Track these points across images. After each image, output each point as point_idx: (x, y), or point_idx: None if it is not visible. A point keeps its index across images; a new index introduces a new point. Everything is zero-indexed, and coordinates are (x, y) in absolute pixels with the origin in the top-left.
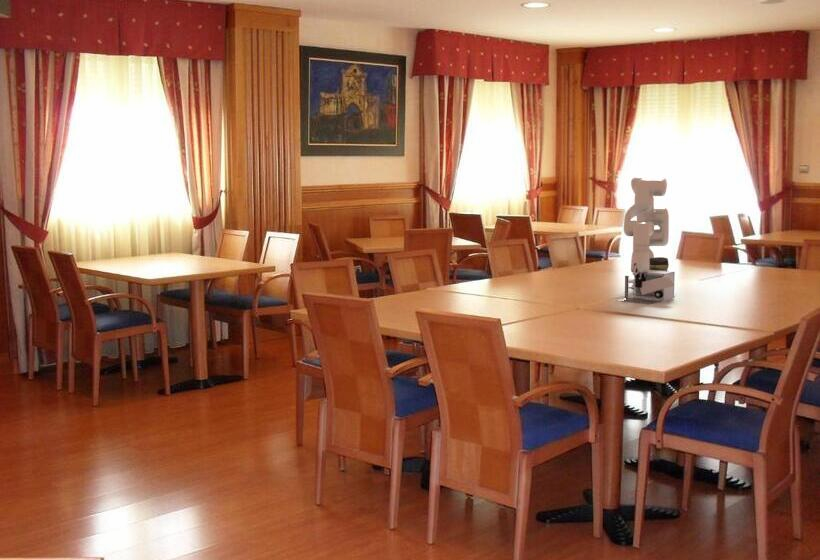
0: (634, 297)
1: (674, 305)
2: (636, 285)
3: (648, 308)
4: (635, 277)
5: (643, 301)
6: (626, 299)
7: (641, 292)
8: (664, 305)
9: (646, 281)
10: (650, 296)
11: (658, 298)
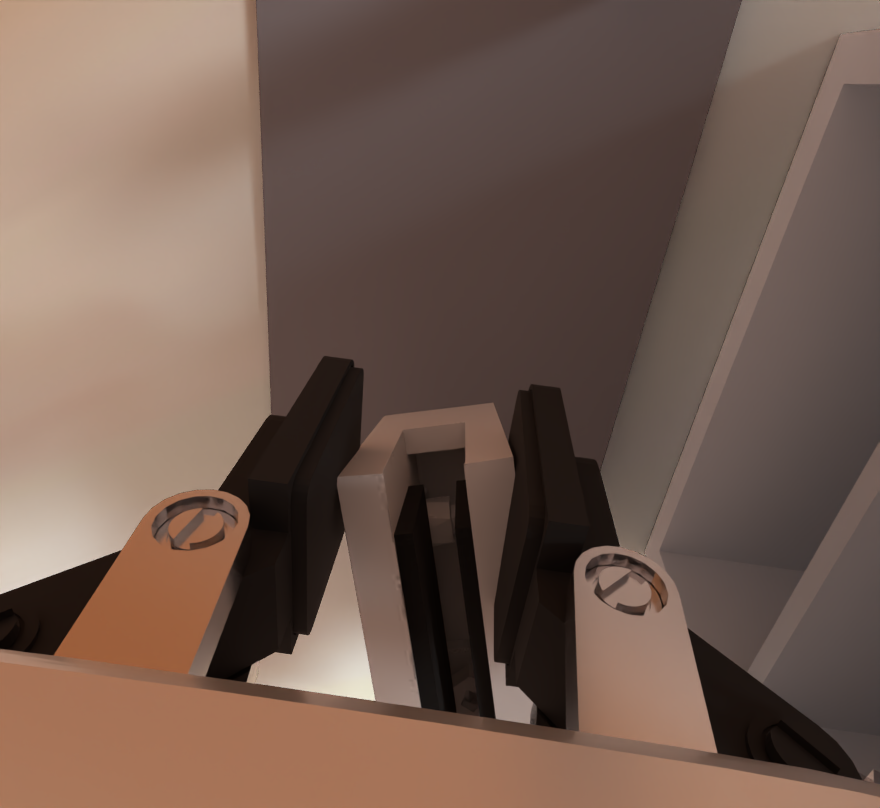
0: (838, 47)
1: (371, 695)
2: (272, 422)
3: (18, 571)
4: (95, 571)
5: (401, 387)
6: (468, 31)
7: (376, 427)
8: (310, 633)
9: (376, 679)
10: (855, 354)
11: (674, 508)
